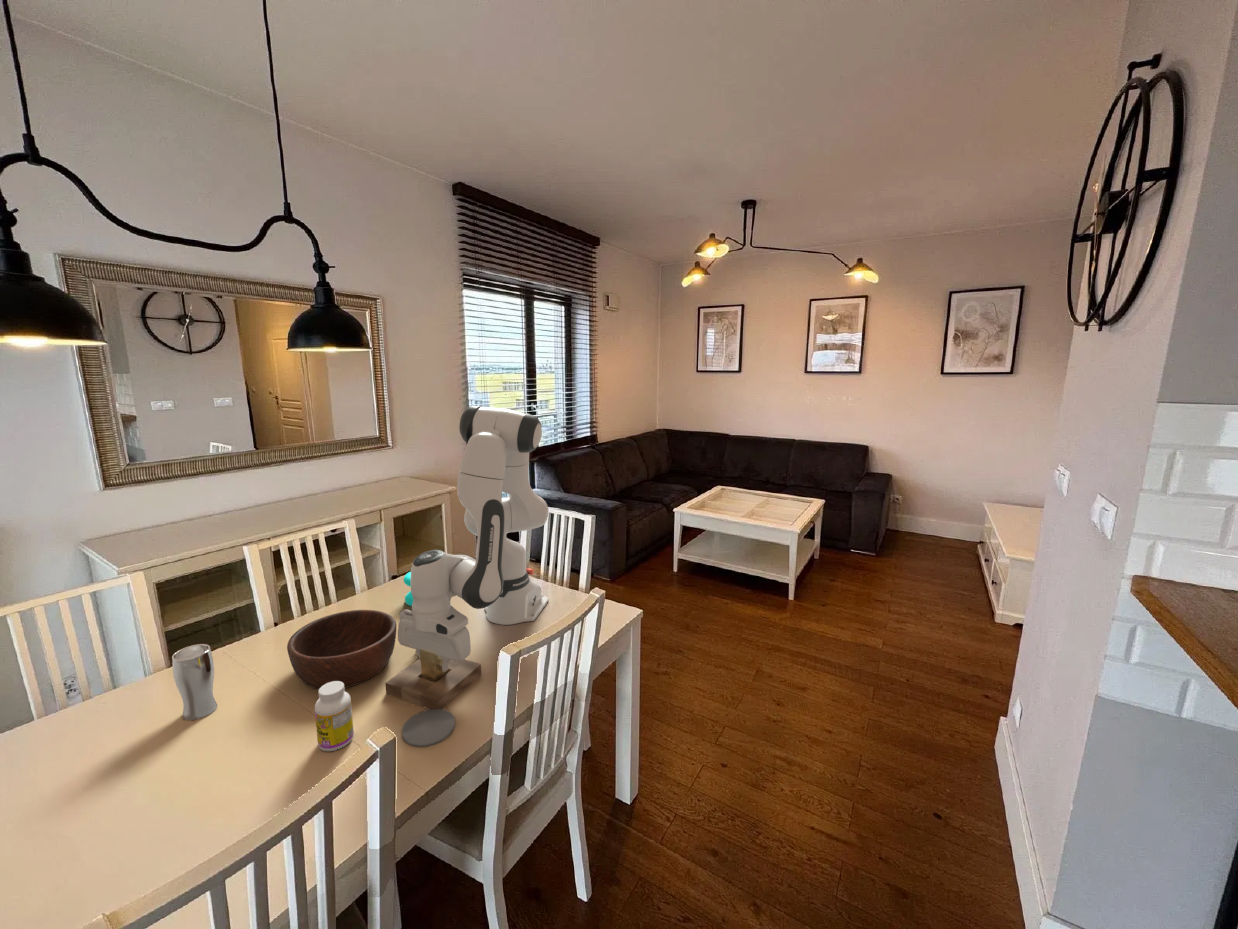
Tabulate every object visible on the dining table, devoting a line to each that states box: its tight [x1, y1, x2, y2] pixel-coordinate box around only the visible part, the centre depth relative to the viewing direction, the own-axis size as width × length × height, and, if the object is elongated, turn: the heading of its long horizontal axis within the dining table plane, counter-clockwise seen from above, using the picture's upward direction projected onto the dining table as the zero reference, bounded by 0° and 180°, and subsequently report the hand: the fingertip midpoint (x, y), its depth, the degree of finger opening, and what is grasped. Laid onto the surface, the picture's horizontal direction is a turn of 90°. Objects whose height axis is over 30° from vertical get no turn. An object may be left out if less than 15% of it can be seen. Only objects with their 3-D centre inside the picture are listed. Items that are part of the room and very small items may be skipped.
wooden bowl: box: [286, 609, 397, 690], centre depth 132 cm, size 25×25×10 cm
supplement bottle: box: [314, 681, 354, 752], centre depth 106 cm, size 7×7×13 cm
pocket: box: [384, 658, 482, 710], centre depth 127 cm, size 16×16×3 cm
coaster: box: [401, 708, 456, 748], centre depth 112 cm, size 11×11×1 cm
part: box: [419, 649, 448, 683], centre depth 126 cm, size 4×4×10 cm
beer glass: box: [171, 643, 218, 721], centre depth 114 cm, size 7×7×15 cm
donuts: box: [403, 571, 413, 607], centre depth 170 cm, size 10×10×10 cm
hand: (434, 667), depth 127 cm, fingers closed on part, 4 cm apart
